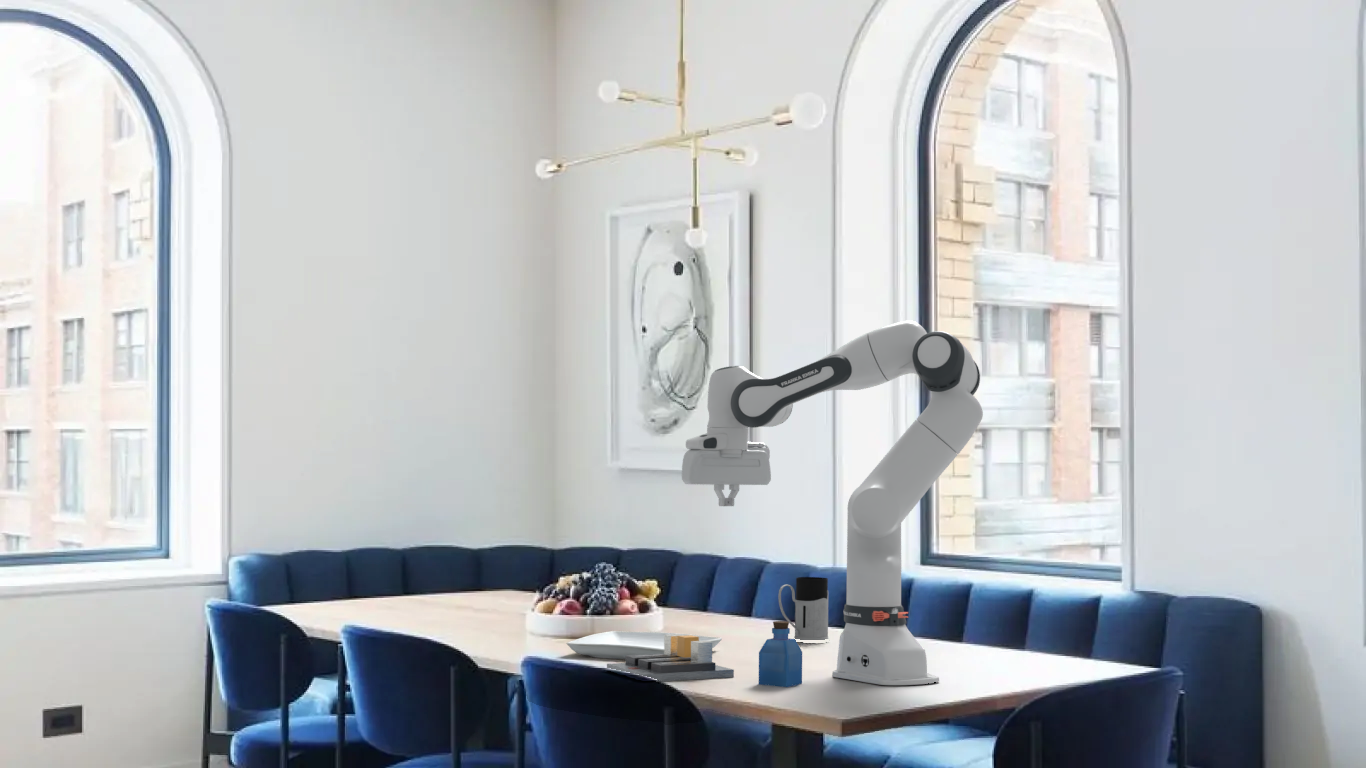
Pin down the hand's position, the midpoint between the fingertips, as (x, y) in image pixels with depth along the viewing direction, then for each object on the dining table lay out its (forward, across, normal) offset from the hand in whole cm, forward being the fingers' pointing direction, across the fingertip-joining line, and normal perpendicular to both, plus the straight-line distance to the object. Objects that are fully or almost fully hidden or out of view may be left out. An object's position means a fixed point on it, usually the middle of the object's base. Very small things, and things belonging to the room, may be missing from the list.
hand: (726, 506), depth 359 cm
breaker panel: (+33, +20, +14) cm, 41 cm away
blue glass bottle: (+33, +6, +34) cm, 48 cm away
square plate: (+34, +10, -18) cm, 40 cm away
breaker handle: (+30, +16, +14) cm, 36 cm away
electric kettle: (+33, -35, -26) cm, 55 cm away
